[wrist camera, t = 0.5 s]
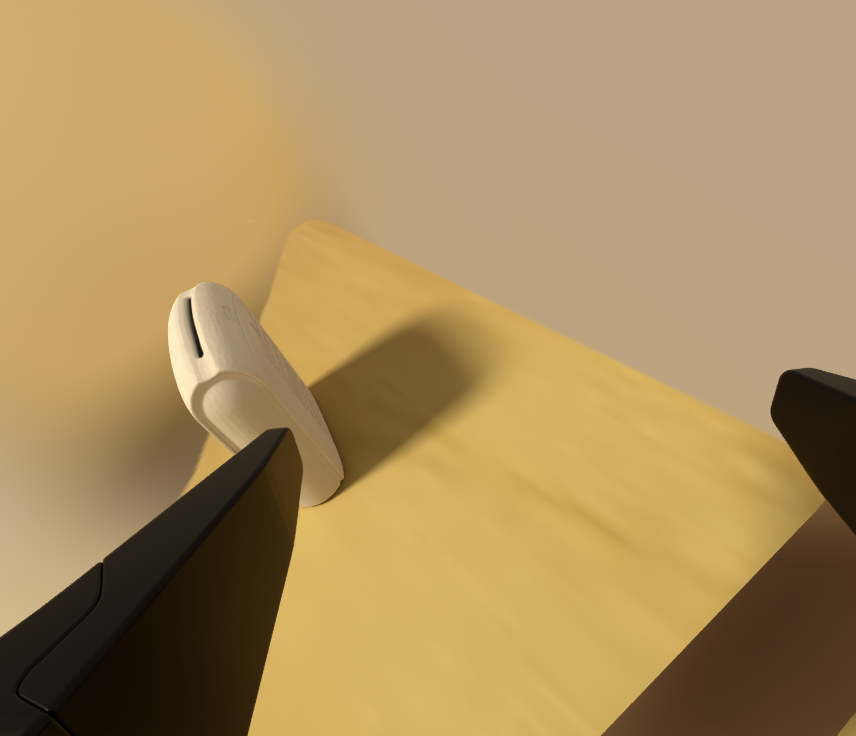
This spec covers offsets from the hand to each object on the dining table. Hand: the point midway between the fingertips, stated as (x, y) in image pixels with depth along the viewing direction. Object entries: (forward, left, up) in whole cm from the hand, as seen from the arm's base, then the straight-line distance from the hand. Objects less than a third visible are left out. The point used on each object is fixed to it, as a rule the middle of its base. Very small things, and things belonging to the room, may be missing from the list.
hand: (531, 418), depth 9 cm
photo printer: (+15, +13, -16) cm, 26 cm away
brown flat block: (-3, -5, -16) cm, 17 cm away
